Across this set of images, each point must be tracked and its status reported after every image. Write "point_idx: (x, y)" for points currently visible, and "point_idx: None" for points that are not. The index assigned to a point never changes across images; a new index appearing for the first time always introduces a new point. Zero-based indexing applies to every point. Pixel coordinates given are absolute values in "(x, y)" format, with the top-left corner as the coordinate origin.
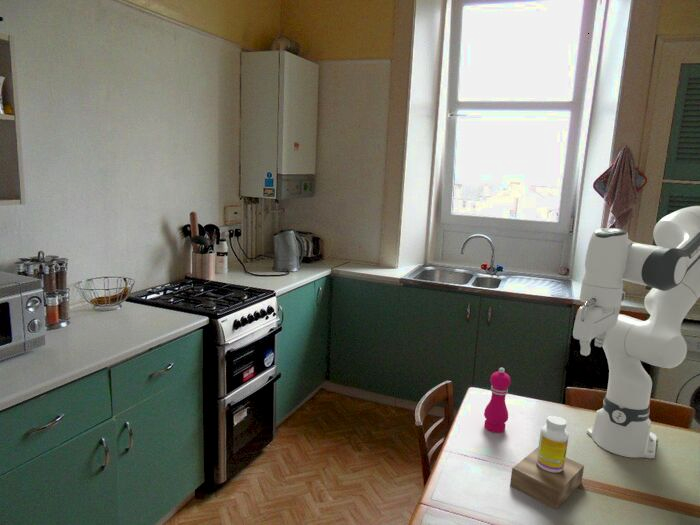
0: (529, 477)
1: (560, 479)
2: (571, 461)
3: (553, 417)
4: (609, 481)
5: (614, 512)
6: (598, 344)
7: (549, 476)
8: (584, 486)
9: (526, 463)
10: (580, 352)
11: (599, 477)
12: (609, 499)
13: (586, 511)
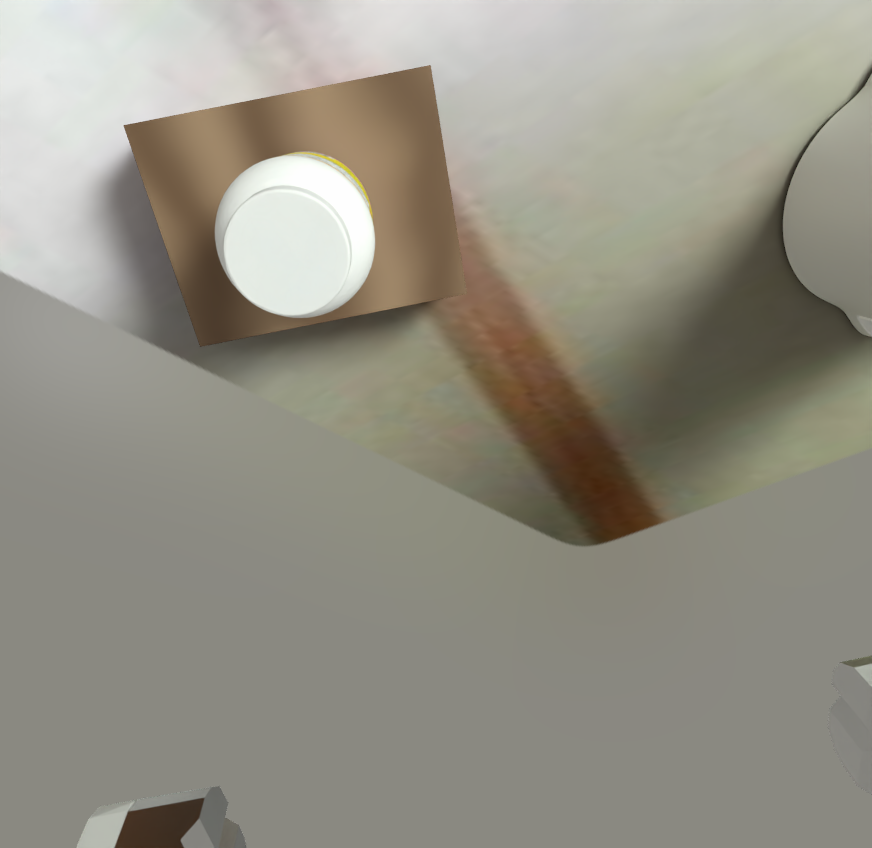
0: (157, 217)
1: None
2: (444, 245)
3: (299, 218)
4: (560, 327)
5: (397, 428)
6: (867, 734)
7: None
8: None
9: (225, 138)
10: (88, 826)
11: (554, 293)
12: (451, 384)
13: (313, 381)
